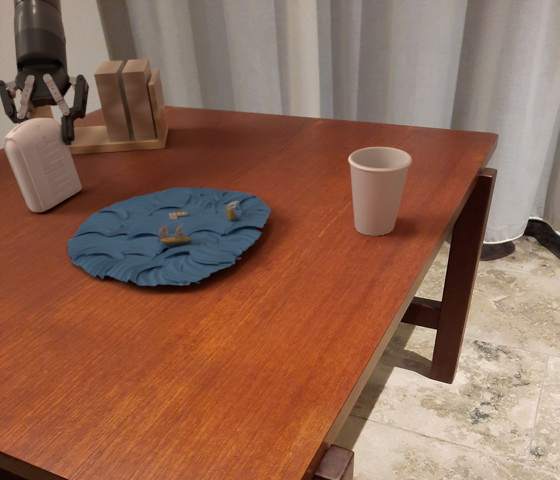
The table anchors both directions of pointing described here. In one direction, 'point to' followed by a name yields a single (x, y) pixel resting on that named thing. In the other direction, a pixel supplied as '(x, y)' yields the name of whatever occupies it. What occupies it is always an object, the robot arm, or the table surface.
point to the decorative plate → (169, 235)
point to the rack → (123, 110)
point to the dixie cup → (377, 187)
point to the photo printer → (41, 163)
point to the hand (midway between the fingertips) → (48, 143)
